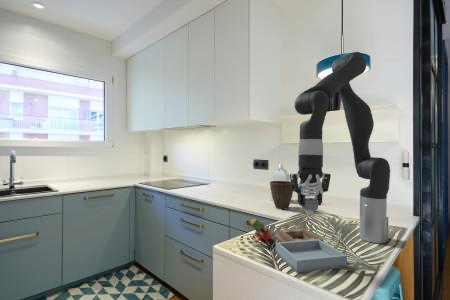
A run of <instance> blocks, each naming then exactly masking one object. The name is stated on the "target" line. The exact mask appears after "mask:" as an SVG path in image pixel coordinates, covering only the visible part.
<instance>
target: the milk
mask: <svg viewBox="0 0 450 300" xmlns="http://www.w3.org/2000/svg"><path fill="white" fill-rule="evenodd" d="M271 181H288V182H291V181H290V173H289V172H288V170H287V169H285V168H284V165H283V164H282V163H281V164H280V163H279V164H278V169H276V170H275V171H274V172H273V173H272V174H271ZM271 181H270V182H271ZM269 197H270V198H269V201H273V197H272V193H271V192H270V196H269Z"/></svg>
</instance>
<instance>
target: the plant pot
mask: <svg viewBox="0 0 450 300" xmlns="http://www.w3.org/2000/svg"><path fill="white" fill-rule="evenodd" d="M269 187H270V188H269V189H270V194H271V193H272V197H273V201H274V202H273V204H274V207H275V208H276V209H279V210H288V209H289V207H290V204H291V202H292V197H293V193H294V191H292V187H291V181H290V182H288V181H269Z"/></svg>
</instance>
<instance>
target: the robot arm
mask: <svg viewBox="0 0 450 300" xmlns="http://www.w3.org/2000/svg"><path fill="white" fill-rule="evenodd" d="M366 69H367V60H366V57H365V56H364V53H362V52H360V51H353V52H350V53H348V54H346V55H344V56H341V57H338V58H336V59H335V60H333V62H332V64H331V70H332V71H331V72H330V73H329V74H327V75H326V76H324V77H323V78H322V79H320V80H319V81H318V82H317V83H316V84H315V85H314V86H312V87H310V88H308V89H306V90H305V91H302V92H301V93H299V95H298V96H297V97H296V98H295V101H294V109H295V111H296V113H298V114H299V115H301V116H306V115H311V116H310V117H309V119H307V120H305V121H303V122H301V123H300V124H299V141H298V165H297V166H298V171H297V172H296V173H289V176H290V182H291V187H292V191H293V193H294V192H295V193H296V194H297V203H298V205H299V206H301V207H302V206H304V201H305V198H306V197H305V195H304V194H305V193H304V192H305V191H306V190H305V188H307V187H308V184H309V183H316V182H319V184H317V185H319V191H318V192H319V194H318V195H317V200H318V202H319V204H318V206H322V203H323V194H324V193H327V192H328V191H329V187H330V181H331V176H332V175H331V173H327V172H323V166H324V164H323V163H324V143H323V126H324V122H325V119H326V117H327V113H328V109H329V106H330V100H331V99H332V98H333V97H334V96H335V95H336V94H337V93H338V94H339V95H340V100H341V103H342V107H343V111H344V115H345V116H344V117H345V120H346V121H345V122H346V124H347V128H348V132H349V136H350V140H351V147H352V151H353V158H354V167H355V170H356V171H355V172H356V173H357V175H358V176H359V178H361V179H364V180H369V184H368V186H366V187H363V188H361V189H359V238H360V239H361V240H363V241H365V242H368V243H374V244H386V243H387V242H388V241H389V216H387V208H388V207H387V205H388V202H387V199H388V198H387V197H388V193H389V191H390V181H391V180H390V179H391V165H390V163H389V161H388V160H387V159H386V158H383V157H374V156H371V153H370V148H369V143H370V139H371V136H372V133H373V130H374V126H375V124H374V117H373V114H372V109H371V107H370V106H369V104H368V103H367V102H365V101H364V100H363V99H362V98H361V97H360V96H358V94H356V92H355V91H354V89H353V88H352V85H351V83H350V82H351V81H352V80H354V79H356V78H357V77H358V76H361V75H362V74H363V73H364V72H365V71H366ZM298 180H299V181H298ZM302 182H303V183H302ZM317 185H313V186H317ZM314 190H316V189H314Z"/></svg>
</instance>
